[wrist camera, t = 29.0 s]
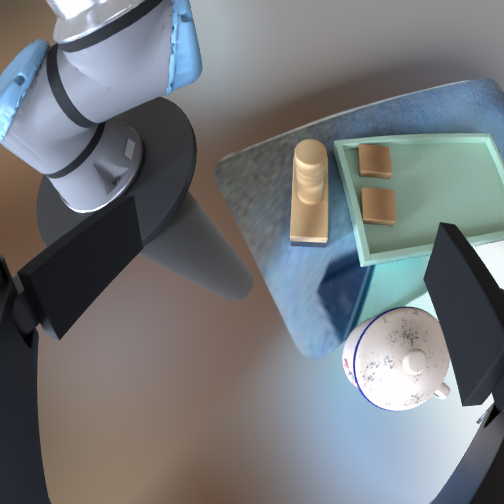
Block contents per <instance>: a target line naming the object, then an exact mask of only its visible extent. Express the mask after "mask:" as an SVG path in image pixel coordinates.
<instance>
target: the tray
mask: <svg viewBox="0 0 504 504" xmlns="http://www.w3.org/2000/svg"><path fill="white" fill-rule="evenodd" d="M359 144H367V145H378V146H387V147H389V150H390V158H391V166H392V175H391V177H390V179H382V178H370V177H359V167H358V152H357V150H358V145H359ZM333 151H334V155H335V158H336V162H337V166H338V169H339V173H340V177H341V181H342V184H343V188H344V192H345V196H346V200H347V204H348V209H349V213H350V217H351V222H352V226H353V231H354V235H355V240H356V245H357V249H358V254H359V260H360V265H361V267H363V266H369V265H375V264H381V263H386V262H392V261H398V260H404V259H409V258H415V257H420V256H426V255H431V253H432V249H433V246H434V242H435V239H436V235H437V231H438V227H439V223H440V222H443V223H450V224H455V225H456V226H457V227H458V228H459V230H460V231H461V232H462V234H463V235H464V236H465V238H466V239H467V240H468V242H469V243H470V244H471V246H472V247H473V246H478V245H483V244H488V243H493V242H498V241H502V240H504V161H503V159H502V157H501V155H500V153H499V150H498V148H497V146H496V144H495V142H494V140H493V138H492V136H491V134H490V133H433V134H408V135H392V136H378V137H366V138H355V139H345V140H341V141H340V140H335V141H334V149H333ZM362 187H367V188H379V189H389V190H394V193H395V206H396V223H395V224H394V225H393V226H387V225H374V224H363V220H362V216H361V206H360V192H361V189H362Z"/></svg>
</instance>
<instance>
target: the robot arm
mask: <svg viewBox="0 0 504 504" xmlns="http://www.w3.org/2000/svg"><path fill="white" fill-rule="evenodd" d="M46 1H47V3H48V4H49V5H50V7H51V8H52V9H53V11H54V12H55V14H56V15H57V22H56V26H55V29H54V33H53V39H54V40H55V42H56V44H55V45H53V46H51V47H50V45H49V42H48V41H45V40H43V39H38V40H36V41H34V42H32V43H31V44H29V45H28V46H27V47H26V48H24V49H23V50H22V51H21V52H20V53H19V54H18V55H17V56H16V58H15V59H14V60H13V61H12V62H11V63H10V64H9V65H8V67H7V68H6V69H5V71H4V72H3V73H2V75H1V76H0V144H1V145H3V146H4V147H5V148H6V149H8V150H9V151H11V152H12V153H13V154H15V155H16V156H18V157H19V158H21V159H22V160H23V161H25V162H26V163H28V164H29V165H31V166H32V167H34V168H35V169H37V170H38V171H39V172H41V173H42V174H43V175H45V176H46V177H48V178H49V179H50V181H51V183H52V184H53V186H54V187H55V188H56V189H57V190H58V192H59V194H60V197H61V198H62V200H63V201H64V203H65V204H66V205H67V206H68V207H69V208H71V209H72V210H74V211H75V212H77V213H79V214H82V215H90V216H89V217H88V218H86V219H85V220H83V221H82V222H81V223H79V224H78V225H76V226H75V227H74V228H72V229H71V230H70V231H68V232H67V233H66V234H64V235H63V236H62V237H60V238H59V239H58V240H56V241H55V242H54V243H52V244H51V245H50V246H49V247H47V248H46V249H45V250H44V251H42V252H41V253H40V254H38V255H37V256H36V257H35V258H34V259H32V260H31V261H30V262H29V263H27V264H26V265H25V266H24V267H23V268H21V269H20V270H19V271H18V272H17V273H18V274H17V275H16V276H15V277H14V278H13V279H12V277H11V274H10V272H9V269H8V267H7V264H6V262H5V259H4V257H3V256H2V255H0V504H51V502H50V500H49V497H48V492H47V487H46V482H45V476H44V470H43V463H42V455H41V446H40V436H39V424H38V408H37V407H38V405H37V359H38V357H37V356H38V340H39V335H38V331H37V330H36V328H35V327H36V326H37V325H38V324H39V323H41V325H42V328H43V329H44V331H45V333H46V335H48V336H50V337H52V338H55V339H57V340H60V339H61V338H62V337H63V336H64V335H65V333H66V332H67V331H68V330H69V329H70V328H71V326H72V325H73V324H74V323H75V322H76V321H77V319H78V318H79V317H80V316H81V315H82V314H83V313H84V311H85V310H86V309H87V308H88V307H89V306H90V305H91V304H92V302H93V301H94V300H95V299H96V298H97V297H98V296H99V295H100V294H101V292H102V291H103V290H104V289H105V288H106V287H107V286H108V285H109V284H110V283H111V281H112V280H113V279H114V278H115V277H116V276H117V275H118V274H119V273H120V272H121V271H122V270H123V269H124V267H126V266H127V265H128V264H129V262H130V261H131V260H132V259H133V258H134V257H135V256H136V255H137V254H138V253H139V252H140V251H141V250H142V249H143V244H142V239H141V233H140V228H139V222H138V216H137V211H136V204H135V198H134V195H127V194H128V193H129V191H130V190H131V189H132V188H133V186H134V185H135V183H136V181H137V180H138V178H139V176H140V174H141V171H142V169H143V165H144V161H145V145H144V142H143V140H142V138H141V137H140V135H139V134H138V133H137V132H136V130H135V129H134V128H133V127H131V126H130V125H128V124H126V123H124V122H121V121H118V120H116V119H115V118H113V117H114V116H116V115H118V114H120V113H123V112H125V111H127V110H129V109H131V108H134V107H136V106H138V105H141V104H143V103H145V102H148V101H150V100H152V99H155V98H157V97H160V96H162V95H169V94H170V93H171V92H172V91H174V90H176V89H178V88H181V87H183V86H185V85H188V84H190V83H193V82H194V81H195V80H197V79H198V77H199V76H200V74H201V72H202V60H201V54H200V49H199V44H198V39H197V34H196V29H195V25H194V21H193V18H192V12H191V6H190V2H189V0H46ZM424 282H425V284H426V287H427V289H428V292H429V295H430V297H431V300H432V303H433V305H434V308H435V311H436V314H437V317H438V320H439V323H440V326H441V329H442V332H443V335H444V339H445V342H446V345H447V348H448V352H449V355H450V359H451V362H452V365H453V370H454V373H455V377H456V381H457V385H458V389H459V393H460V398H461V402H462V406H473V405H481V404H483V402H484V401H485V400H486V399H487V398H488V396H489V395H490V394H491V393H492V395H493V398H494V403H493V404H492V405H491V406H490V407H489V408H488V410H487V411H486V412H485V413H484V414H483V415H482V416H481V417H480V418H479V420H478V421H477V422H476V423H478V424H479V423H480V422H481V421H482V420H483V421H482V423H481V425H480V427H479V429H478V431H477V433H476V435H475V437H474V438H473V440H472V442H471V444H470V446H469V448H468V449H467V451H466V453H465V454H464V456H463V458H462V459H461V461H460V463H459V464H458V466H457V467H456V469H455V471H454V472H453V474H452V475H451V477H450V478H449V480H448V481H447V483H446V484H445V485H444V487H443V488H442V490H441V491H440V493H439V494H438V495H437V497H436V498H435V499H434V501H433V502H432V503H431V504H504V290H503V289H500V288H499V286H498V284H497V283H496V281H495V280H494V278H493V276H492V275H491V273H490V272H489V271H488V269H487V267H486V266H485V264H484V263H483V261H482V260H481V259H480V257H479V256H478V254H477V253H476V251H475V250H474V249H473V247H472V246H471V244H470V243H469V242H468V240H467V239H466V238H465V236H464V235H463V234H462V232H461V231H460V230H459V228H458V227H457V226H456V225H455V224H450V223H443V222H440V223H439V227H438V231H437V235H436V239H435V242H434V246H433V249H432V253H431V256H430V260H429V263H428V266H427V269H426V272H425V276H424Z"/></svg>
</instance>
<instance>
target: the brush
mask: <svg viewBox="0 0 504 504" xmlns="http://www.w3.org/2000/svg"><path fill="white" fill-rule="evenodd" d="M290 240H291V246H305V247H326V245H327V240H328V157H327V149H326V147H325V146H324V145H323V144H322V143H321V142H320V141H318V140H314V139H306V140H303V141H301V142H300V143H299V144H298V145H297V146H296V148H295V156H294V159H293V185H292V207H291V226H290Z"/></svg>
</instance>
